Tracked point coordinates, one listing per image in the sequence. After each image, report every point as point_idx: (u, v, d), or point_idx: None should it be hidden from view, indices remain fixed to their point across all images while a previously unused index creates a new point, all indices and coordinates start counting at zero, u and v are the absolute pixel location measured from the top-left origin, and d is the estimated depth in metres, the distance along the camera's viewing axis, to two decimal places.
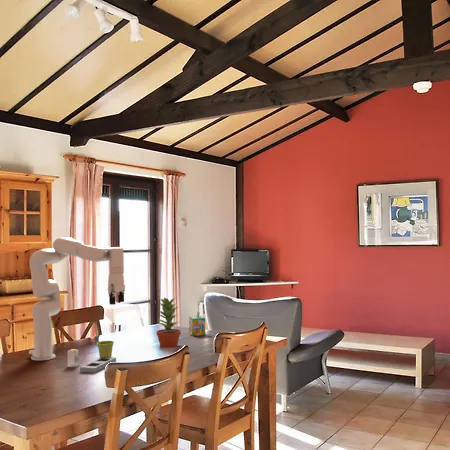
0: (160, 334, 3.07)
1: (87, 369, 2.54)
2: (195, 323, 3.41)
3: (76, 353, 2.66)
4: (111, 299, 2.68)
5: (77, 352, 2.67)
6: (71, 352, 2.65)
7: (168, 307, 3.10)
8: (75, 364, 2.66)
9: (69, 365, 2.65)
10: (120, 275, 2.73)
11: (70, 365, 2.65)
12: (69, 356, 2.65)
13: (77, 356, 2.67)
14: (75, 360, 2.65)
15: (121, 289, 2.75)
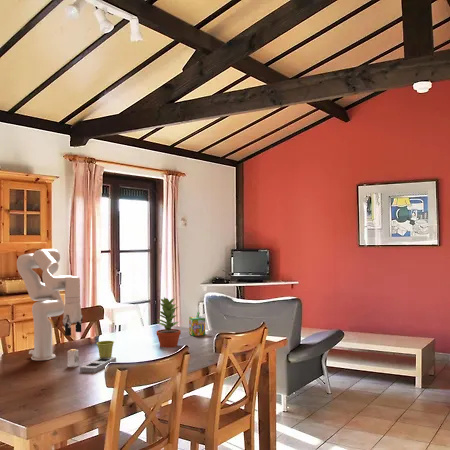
0: (160, 334, 3.07)
1: (87, 369, 2.54)
2: (195, 323, 3.41)
3: (76, 353, 2.66)
4: (66, 330, 2.61)
5: (77, 352, 2.67)
6: (71, 352, 2.65)
7: (168, 307, 3.10)
8: (75, 364, 2.66)
9: (69, 365, 2.65)
10: (76, 305, 2.66)
11: (70, 365, 2.65)
12: (69, 356, 2.65)
13: (77, 356, 2.67)
14: (75, 360, 2.65)
15: (78, 319, 2.68)
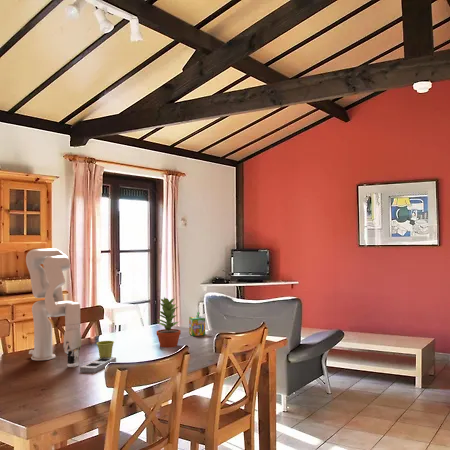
0: (160, 334, 3.07)
1: (87, 369, 2.54)
2: (195, 323, 3.41)
3: (76, 353, 2.66)
4: (69, 358, 2.64)
5: (77, 352, 2.67)
6: None
7: (168, 307, 3.10)
8: (75, 364, 2.66)
9: (69, 365, 2.65)
10: (76, 332, 2.66)
11: (70, 365, 2.65)
12: None
13: (77, 356, 2.67)
14: (75, 360, 2.65)
15: (78, 345, 2.68)
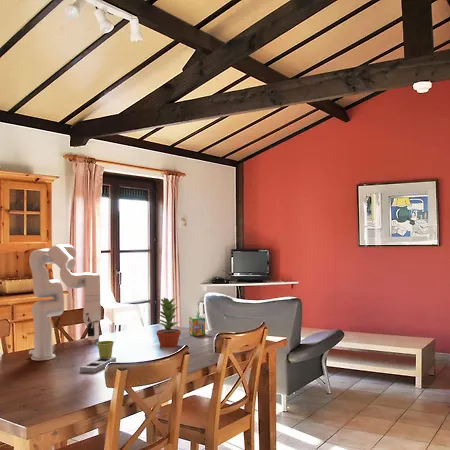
0: (160, 334, 3.07)
1: (87, 369, 2.54)
2: (195, 323, 3.41)
3: (96, 325, 2.59)
4: (89, 331, 2.56)
5: (97, 324, 2.60)
6: None
7: (168, 307, 3.10)
8: (96, 336, 2.58)
9: (89, 338, 2.58)
10: (96, 303, 2.59)
11: (90, 337, 2.58)
12: None
13: (97, 328, 2.60)
14: (95, 332, 2.58)
15: (98, 318, 2.60)
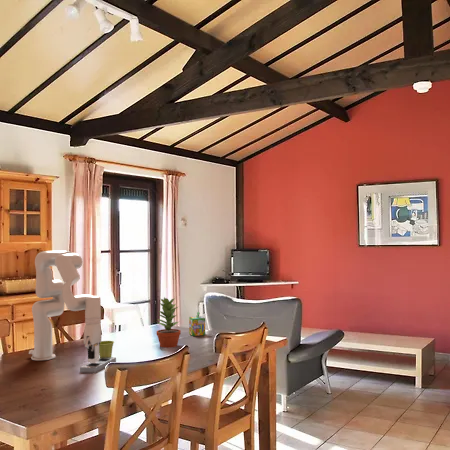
0: (160, 334, 3.07)
1: (87, 369, 2.54)
2: (195, 323, 3.41)
3: (96, 348, 2.59)
4: (89, 353, 2.56)
5: (97, 347, 2.60)
6: None
7: (168, 307, 3.10)
8: (96, 359, 2.58)
9: (89, 360, 2.58)
10: (96, 326, 2.58)
11: (90, 360, 2.58)
12: None
13: (97, 351, 2.60)
14: (95, 355, 2.57)
15: (98, 340, 2.60)
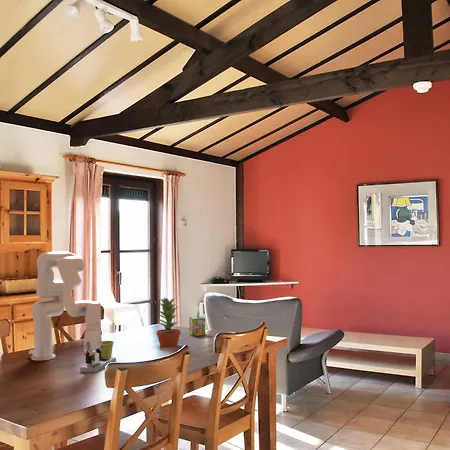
0: (160, 334, 3.07)
1: (87, 369, 2.54)
2: (195, 323, 3.41)
3: (96, 356, 2.59)
4: (87, 358, 2.54)
5: (97, 355, 2.60)
6: (91, 355, 2.58)
7: (168, 307, 3.10)
8: None
9: None
10: (96, 332, 2.58)
11: None
12: None
13: (97, 359, 2.60)
14: (95, 363, 2.57)
15: (98, 346, 2.60)
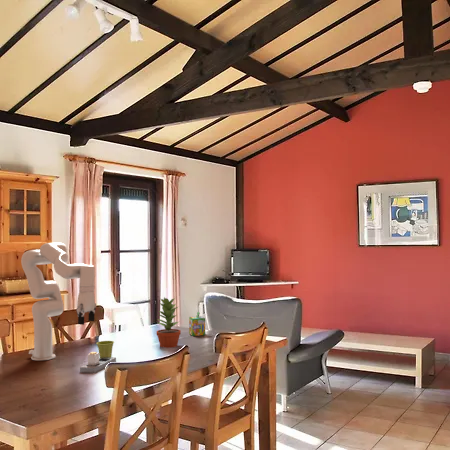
0: (160, 334, 3.07)
1: (87, 369, 2.54)
2: (195, 323, 3.41)
3: (96, 356, 2.59)
4: (80, 319, 2.60)
5: (97, 355, 2.60)
6: (91, 355, 2.58)
7: (168, 307, 3.10)
8: None
9: None
10: (90, 294, 2.64)
11: None
12: (89, 359, 2.58)
13: (97, 359, 2.60)
14: (95, 363, 2.57)
15: (91, 308, 2.66)
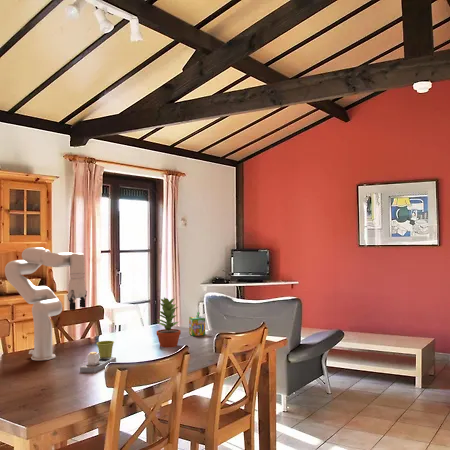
0: (160, 334, 3.07)
1: (87, 369, 2.54)
2: (195, 323, 3.41)
3: (96, 356, 2.59)
4: (71, 305, 2.70)
5: (97, 355, 2.60)
6: (91, 355, 2.58)
7: (168, 307, 3.10)
8: None
9: None
10: (80, 281, 2.75)
11: None
12: (89, 359, 2.58)
13: (97, 359, 2.60)
14: (95, 363, 2.57)
15: (82, 295, 2.76)
